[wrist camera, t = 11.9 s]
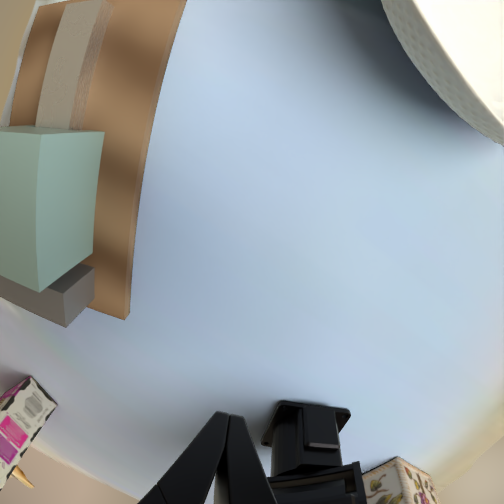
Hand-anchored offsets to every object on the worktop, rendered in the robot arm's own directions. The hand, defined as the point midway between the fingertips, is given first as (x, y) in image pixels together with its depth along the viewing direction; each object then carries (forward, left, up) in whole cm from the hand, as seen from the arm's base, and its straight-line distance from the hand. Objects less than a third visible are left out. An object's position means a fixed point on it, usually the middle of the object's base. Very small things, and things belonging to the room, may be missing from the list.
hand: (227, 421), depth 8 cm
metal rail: (+5, +14, -11) cm, 18 cm away
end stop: (-4, +14, -11) cm, 18 cm away
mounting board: (+5, +14, -12) cm, 19 cm away
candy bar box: (-25, +23, -12) cm, 36 cm away
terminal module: (+2, +14, -11) cm, 18 cm away
